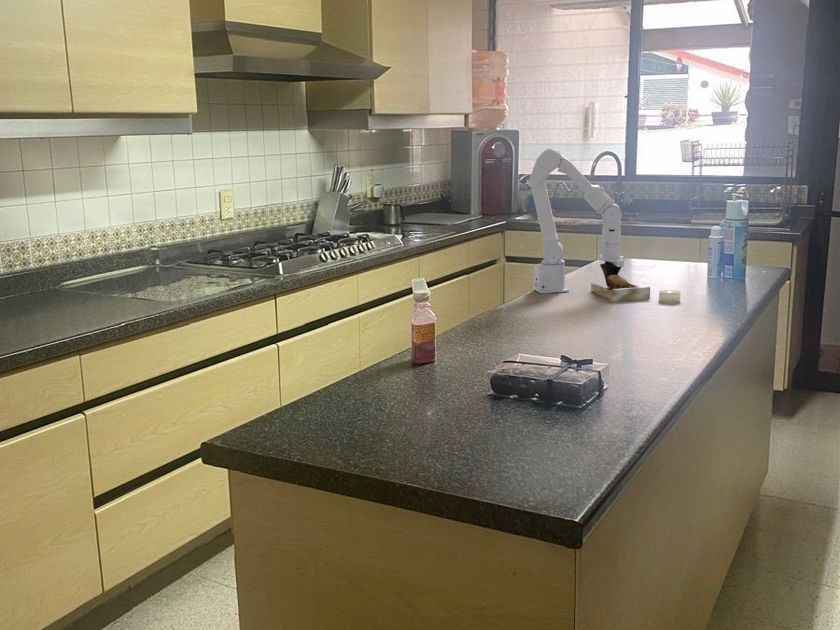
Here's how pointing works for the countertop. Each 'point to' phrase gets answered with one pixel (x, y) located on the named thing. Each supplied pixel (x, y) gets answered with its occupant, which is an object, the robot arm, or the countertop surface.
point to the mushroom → (617, 282)
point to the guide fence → (622, 292)
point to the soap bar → (669, 296)
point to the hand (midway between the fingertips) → (610, 286)
